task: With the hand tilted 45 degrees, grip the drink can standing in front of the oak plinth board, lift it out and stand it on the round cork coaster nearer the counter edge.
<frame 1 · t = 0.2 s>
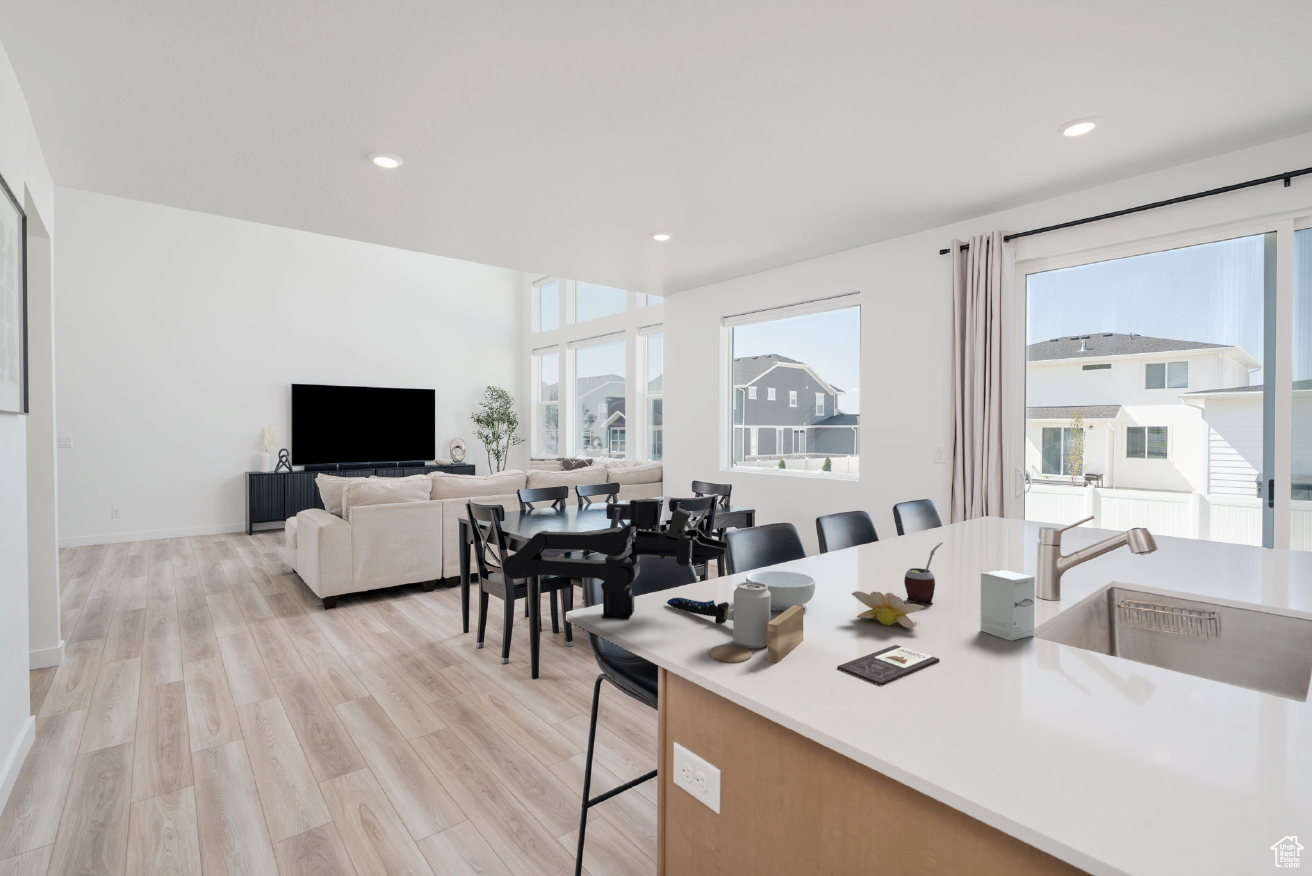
hand: (725, 548, 136), 16 cm above the kitchen island, tool horizontal, fingers open, 9 cm apart
coaster: (730, 654, 116), on the kitchen island
mate gourd: (921, 602, 150), on the kitchen island
can: (751, 644, 121), on the kitchen island
decorative flower: (891, 624, 134), on the kitchen island
plinth board: (786, 649, 118), on the kitchen island
cereal bowl: (780, 606, 147), on the kitchen island
knife: (711, 620, 137), on the kitchen island
chocolate bar: (889, 668, 110), on the kitchen island
supplement box: (1007, 634, 126), on the kitchen island
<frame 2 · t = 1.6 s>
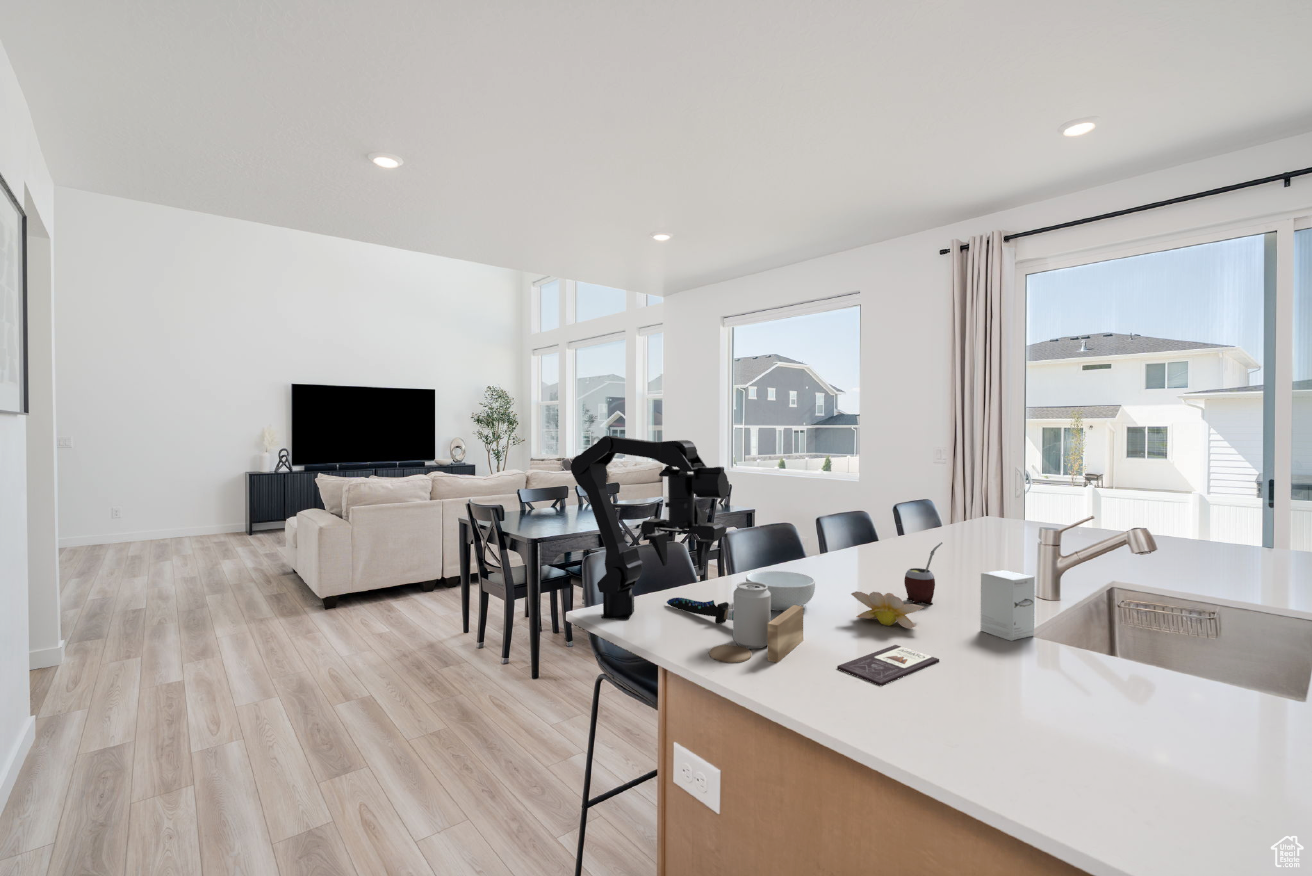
hand: (682, 567, 132), 13 cm above the kitchen island, tool pointing down, fingers open, 9 cm apart
nothing on the kitchen island moved.
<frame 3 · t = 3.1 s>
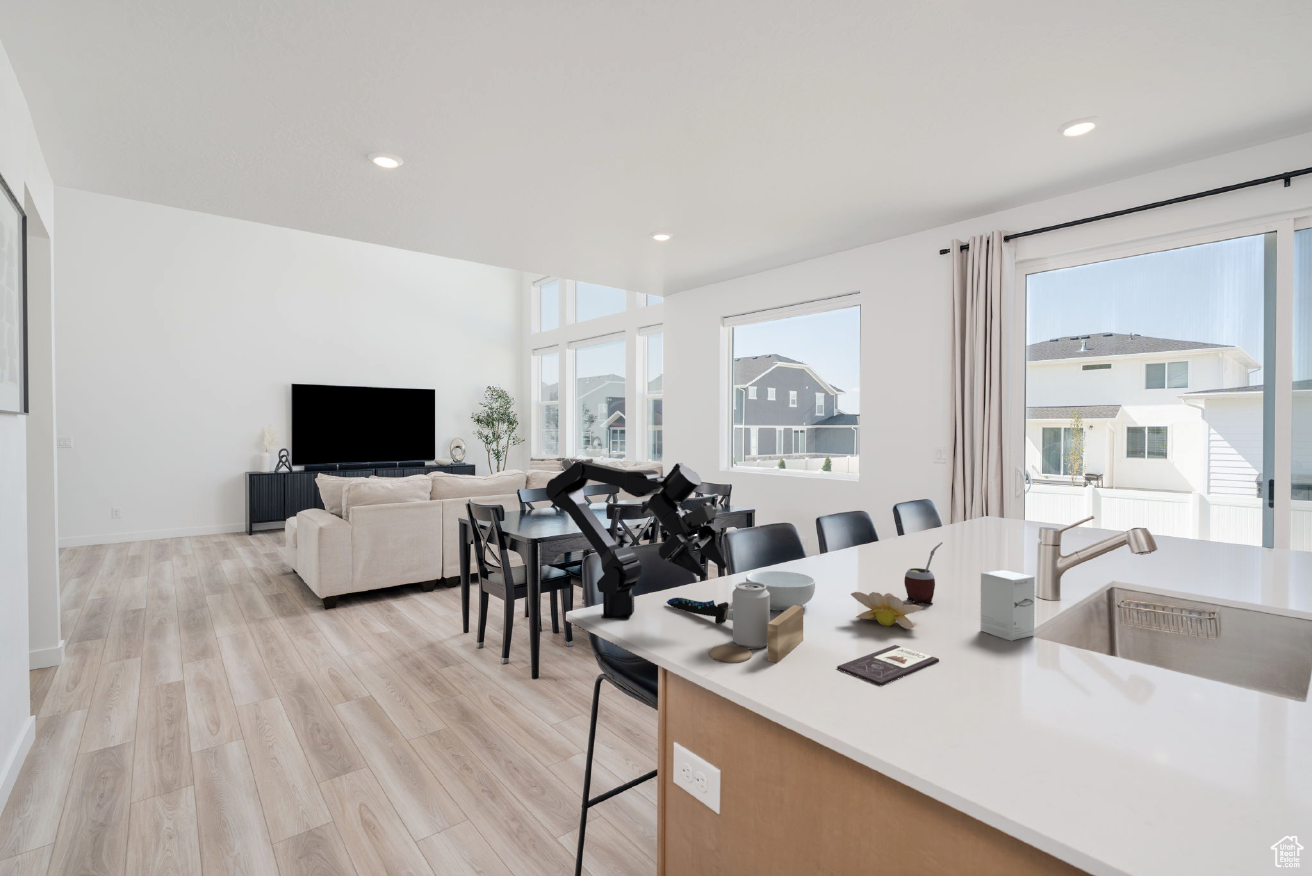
hand: (715, 571, 126), 13 cm above the kitchen island, tool tilted 45°, fingers open, 9 cm apart
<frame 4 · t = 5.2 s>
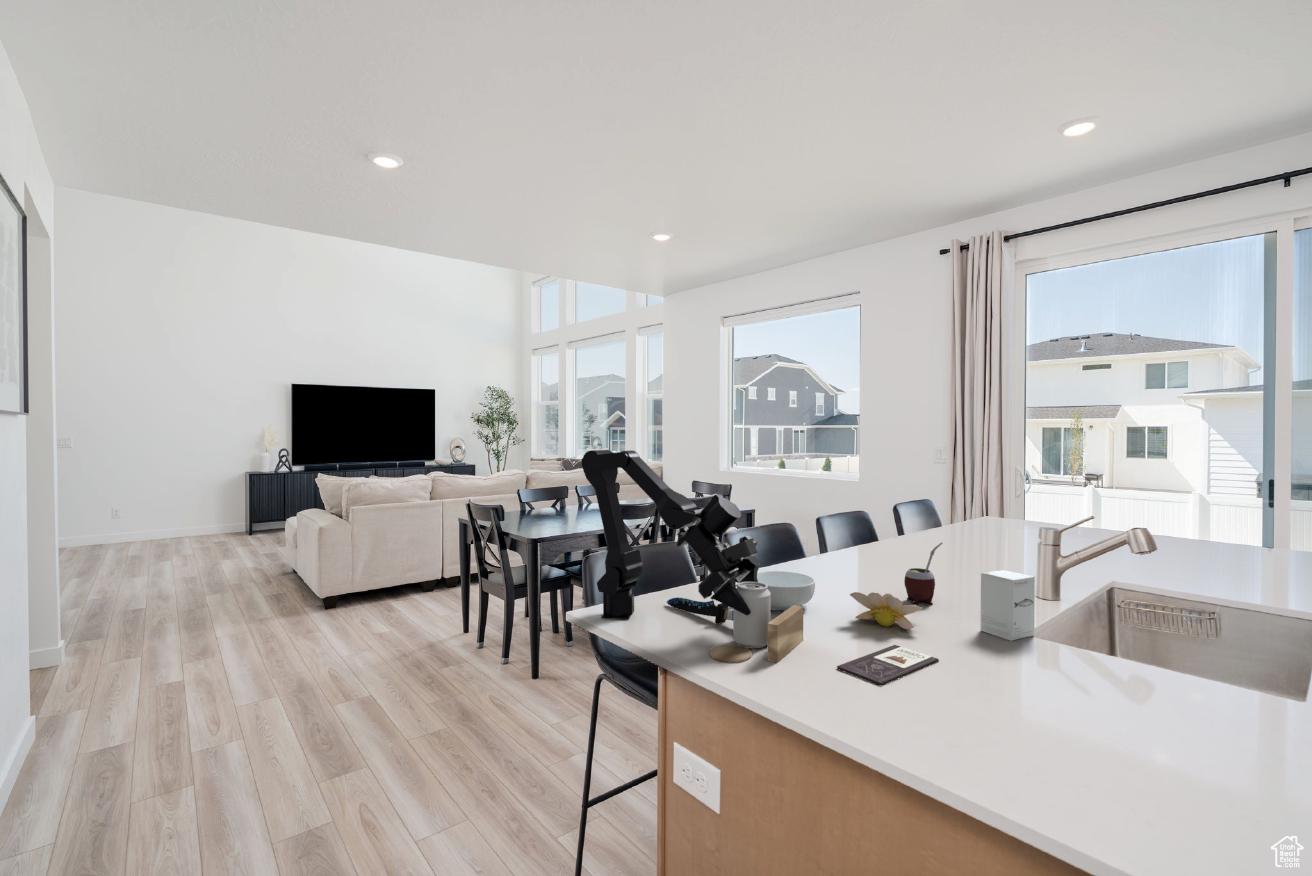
hand: (757, 609, 121), 7 cm above the kitchen island, tool tilted 45°, fingers closed on can, 7 cm apart
can: (751, 644, 121), on the kitchen island, touching gripper
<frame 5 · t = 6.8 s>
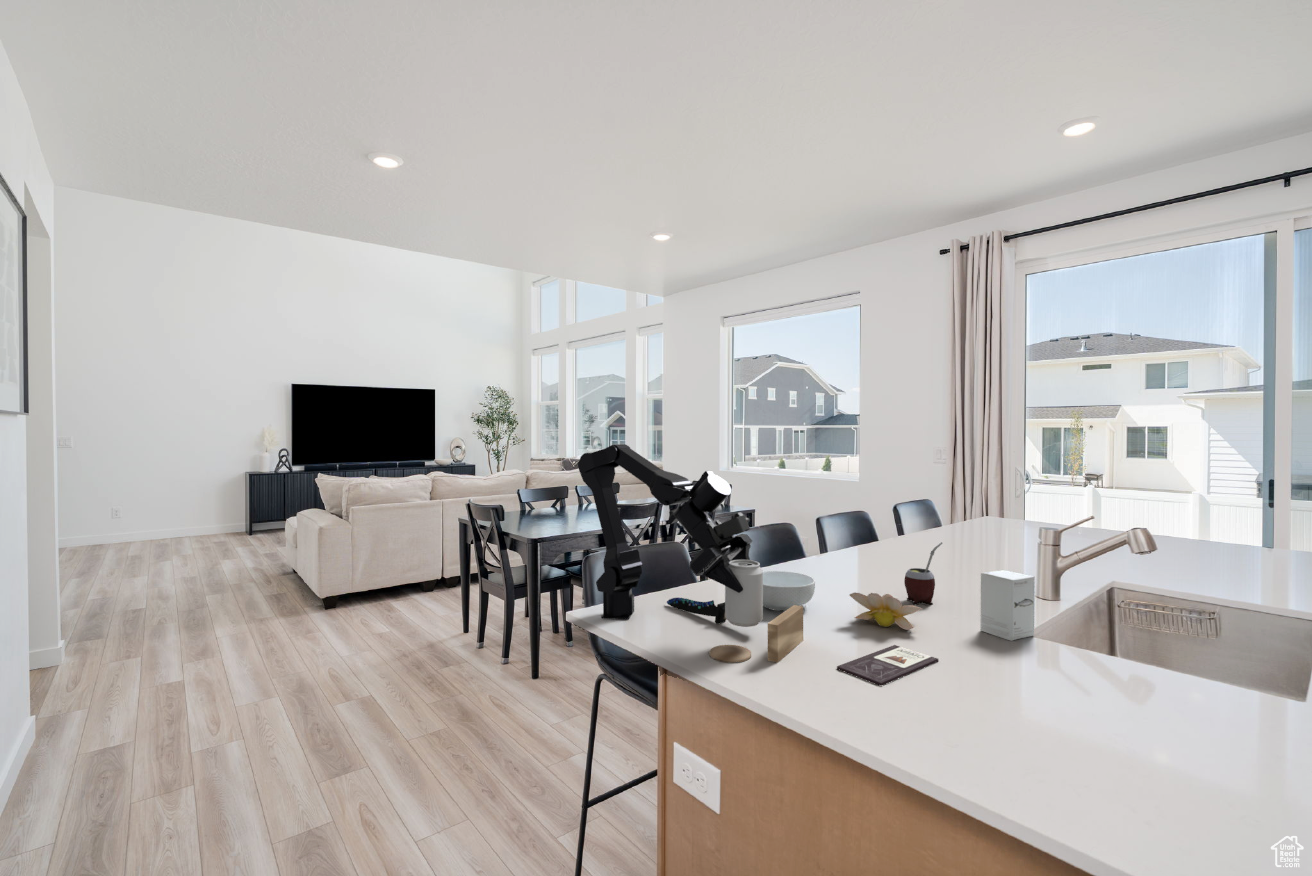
hand: (749, 586, 119), 12 cm above the kitchen island, tool tilted 45°, fingers closed on can, 7 cm apart
can: (743, 622, 119), point 5 cm above the kitchen island, touching gripper
when the fingers open (8 cm above the kitchen island, at t = 8.4 s): can stays where it is, resting on coaster.
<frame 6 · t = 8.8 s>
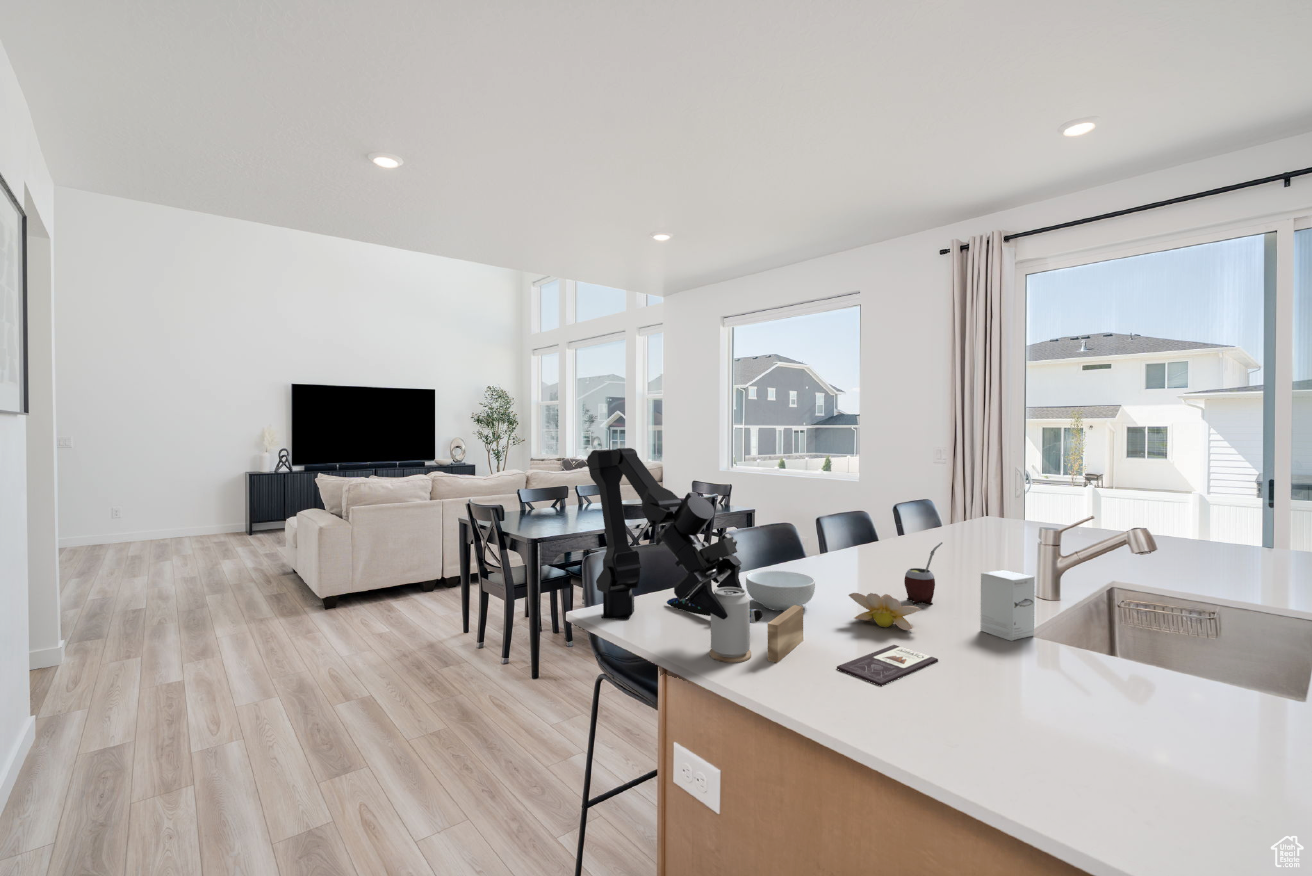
hand: (736, 611, 115), 9 cm above the kitchen island, tool tilted 45°, fingers open, 9 cm apart
can: (730, 652, 116), resting on coaster
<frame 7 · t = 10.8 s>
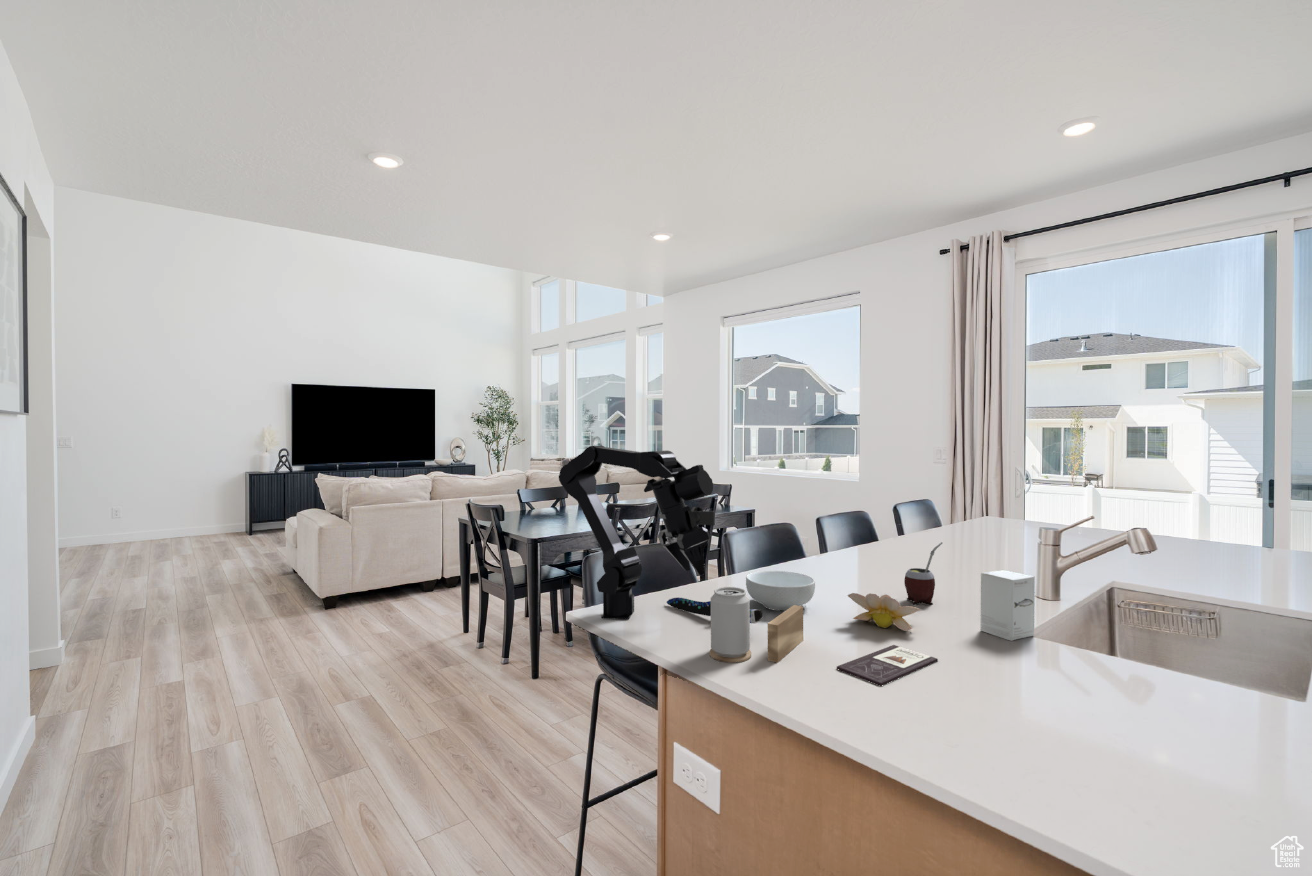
hand: (695, 572, 132), 12 cm above the kitchen island, tool tilted 20°, fingers open, 9 cm apart
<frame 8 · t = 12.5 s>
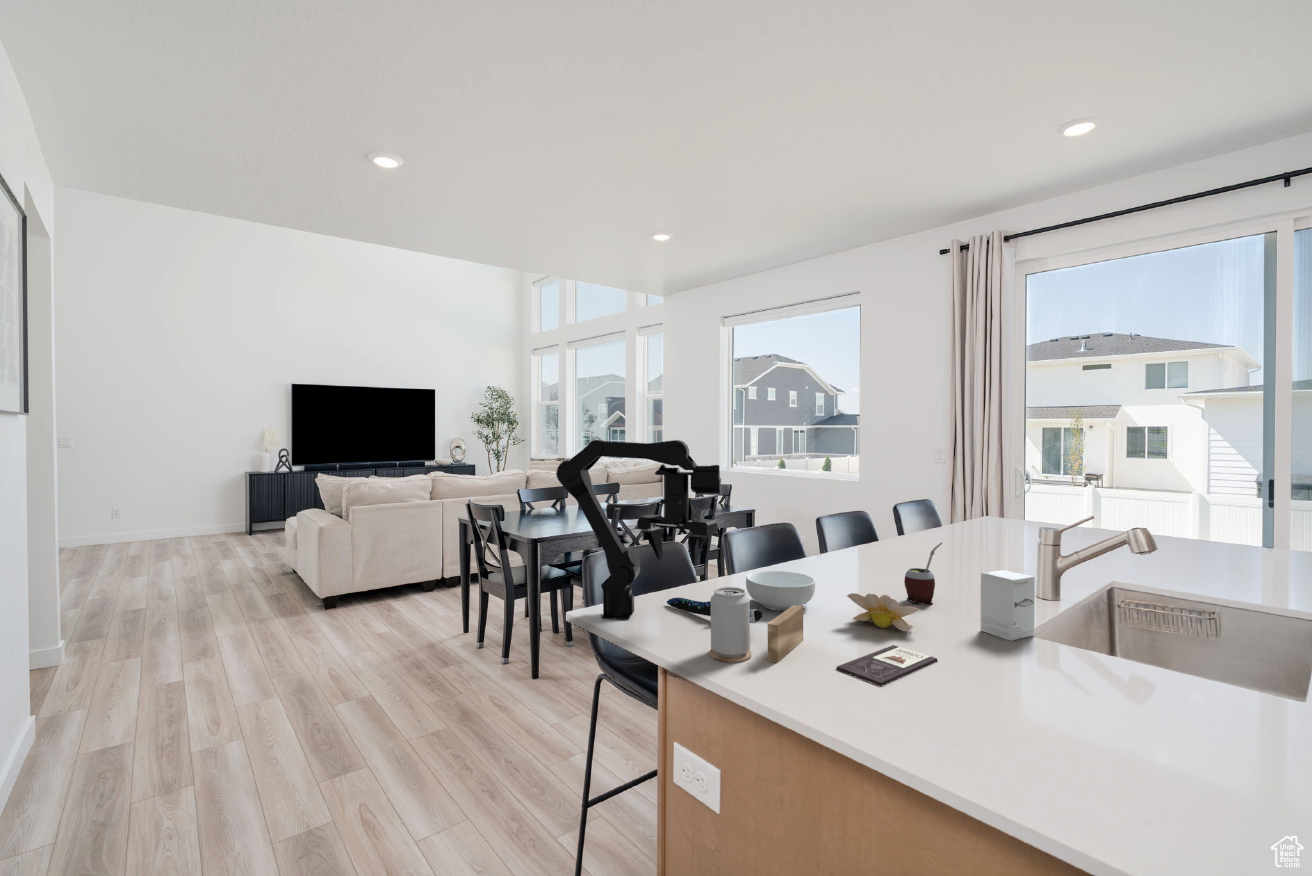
hand: (676, 561, 138), 13 cm above the kitchen island, tool pointing down, fingers open, 9 cm apart
at the end: can 0.1 cm from the coaster (horizontally); can tilted 0°; the gripper is holding nothing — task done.
